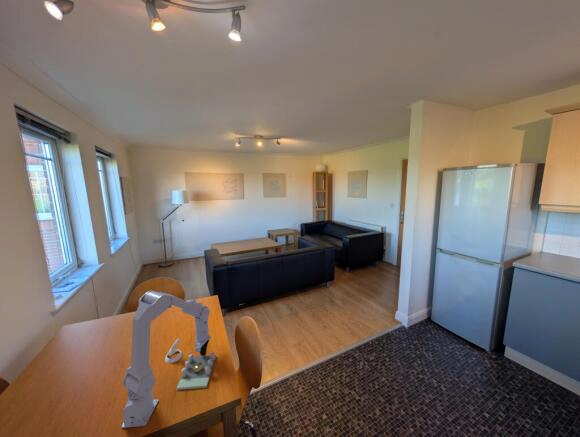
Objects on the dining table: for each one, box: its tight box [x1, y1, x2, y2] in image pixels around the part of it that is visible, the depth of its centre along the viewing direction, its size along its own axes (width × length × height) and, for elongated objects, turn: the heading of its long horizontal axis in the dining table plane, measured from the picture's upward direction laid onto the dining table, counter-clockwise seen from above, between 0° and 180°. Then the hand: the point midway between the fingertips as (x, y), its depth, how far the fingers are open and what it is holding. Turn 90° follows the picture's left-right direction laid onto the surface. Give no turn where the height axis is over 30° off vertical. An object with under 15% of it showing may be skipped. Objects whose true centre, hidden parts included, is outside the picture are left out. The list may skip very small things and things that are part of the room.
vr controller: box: [164, 338, 183, 364], centre depth 108 cm, size 8×12×7 cm
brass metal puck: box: [193, 362, 203, 374], centre depth 99 cm, size 4×4×2 cm
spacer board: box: [176, 352, 217, 391], centre depth 99 cm, size 17×12×4 cm
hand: (203, 354), depth 107 cm, fingers closed
